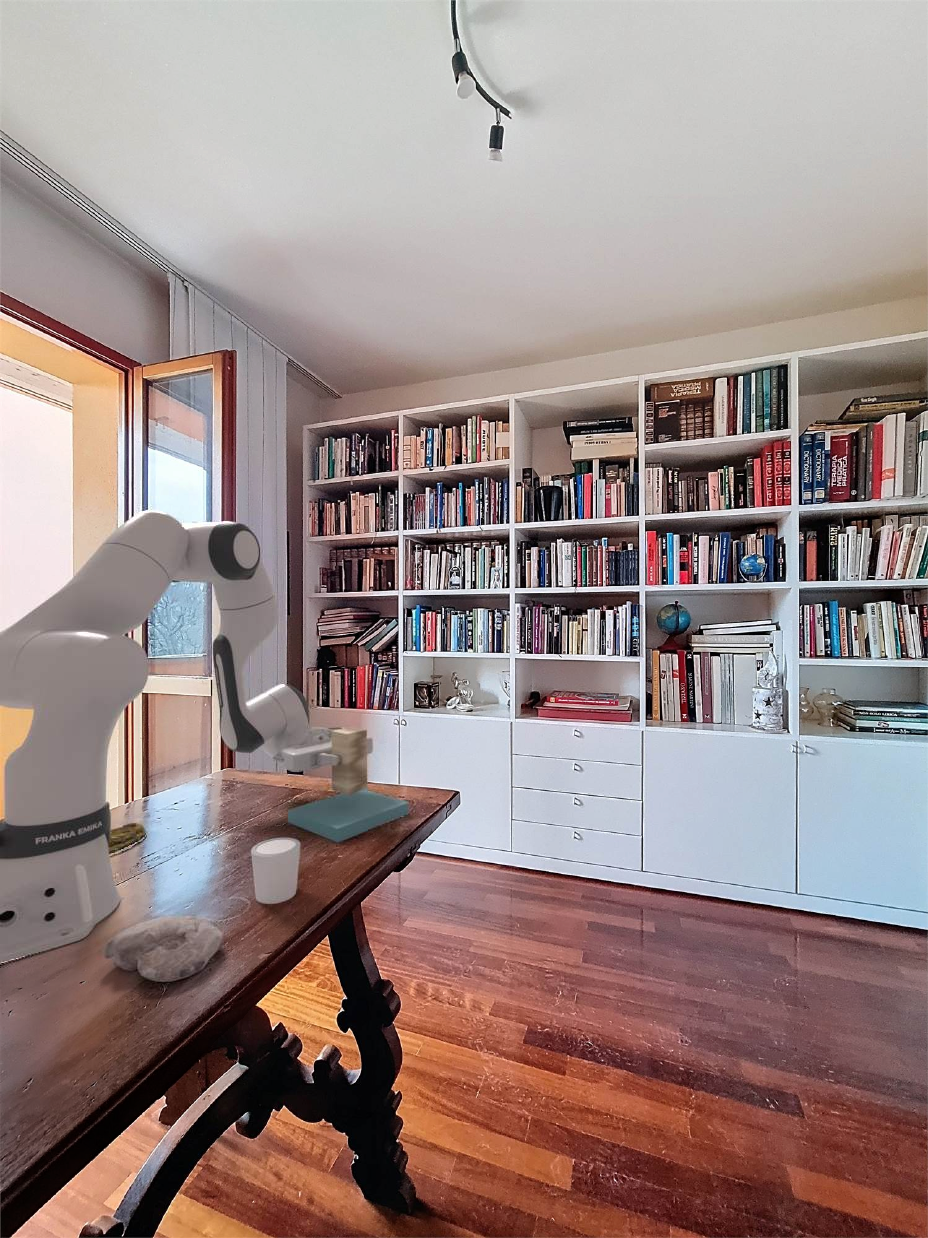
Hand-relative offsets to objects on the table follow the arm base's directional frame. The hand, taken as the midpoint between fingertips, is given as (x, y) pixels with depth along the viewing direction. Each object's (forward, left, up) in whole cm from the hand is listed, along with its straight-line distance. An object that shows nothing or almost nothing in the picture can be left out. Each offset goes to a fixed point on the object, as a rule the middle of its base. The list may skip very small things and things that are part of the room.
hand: (352, 757), depth 108 cm
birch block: (0, +1, -7) cm, 7 cm away
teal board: (0, +1, -12) cm, 13 cm away
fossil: (-43, -19, -13) cm, 48 cm away
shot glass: (-26, -15, -13) cm, 33 cm away
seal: (-35, +25, -13) cm, 45 cm away
